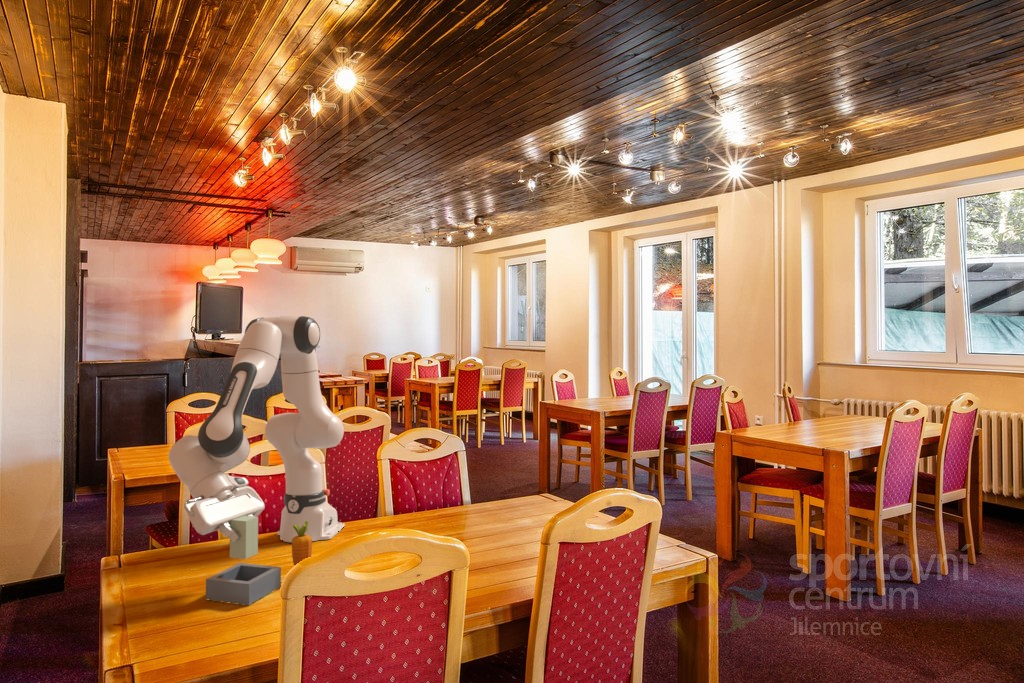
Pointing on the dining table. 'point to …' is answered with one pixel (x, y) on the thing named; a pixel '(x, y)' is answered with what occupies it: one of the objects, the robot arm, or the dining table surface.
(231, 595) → the gray open box
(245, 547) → the sage block
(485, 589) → the dining table surface
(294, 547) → the carrot
